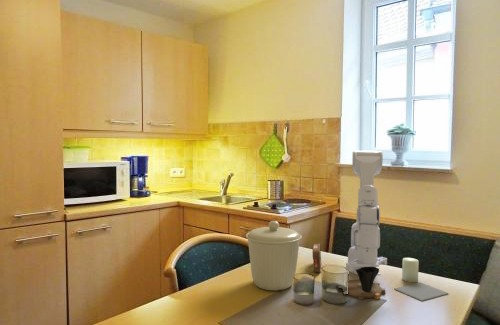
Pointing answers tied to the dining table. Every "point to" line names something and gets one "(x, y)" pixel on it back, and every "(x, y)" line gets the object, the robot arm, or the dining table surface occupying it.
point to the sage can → (410, 269)
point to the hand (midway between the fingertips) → (366, 291)
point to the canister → (273, 256)
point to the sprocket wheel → (357, 291)
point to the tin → (316, 258)
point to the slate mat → (421, 291)
